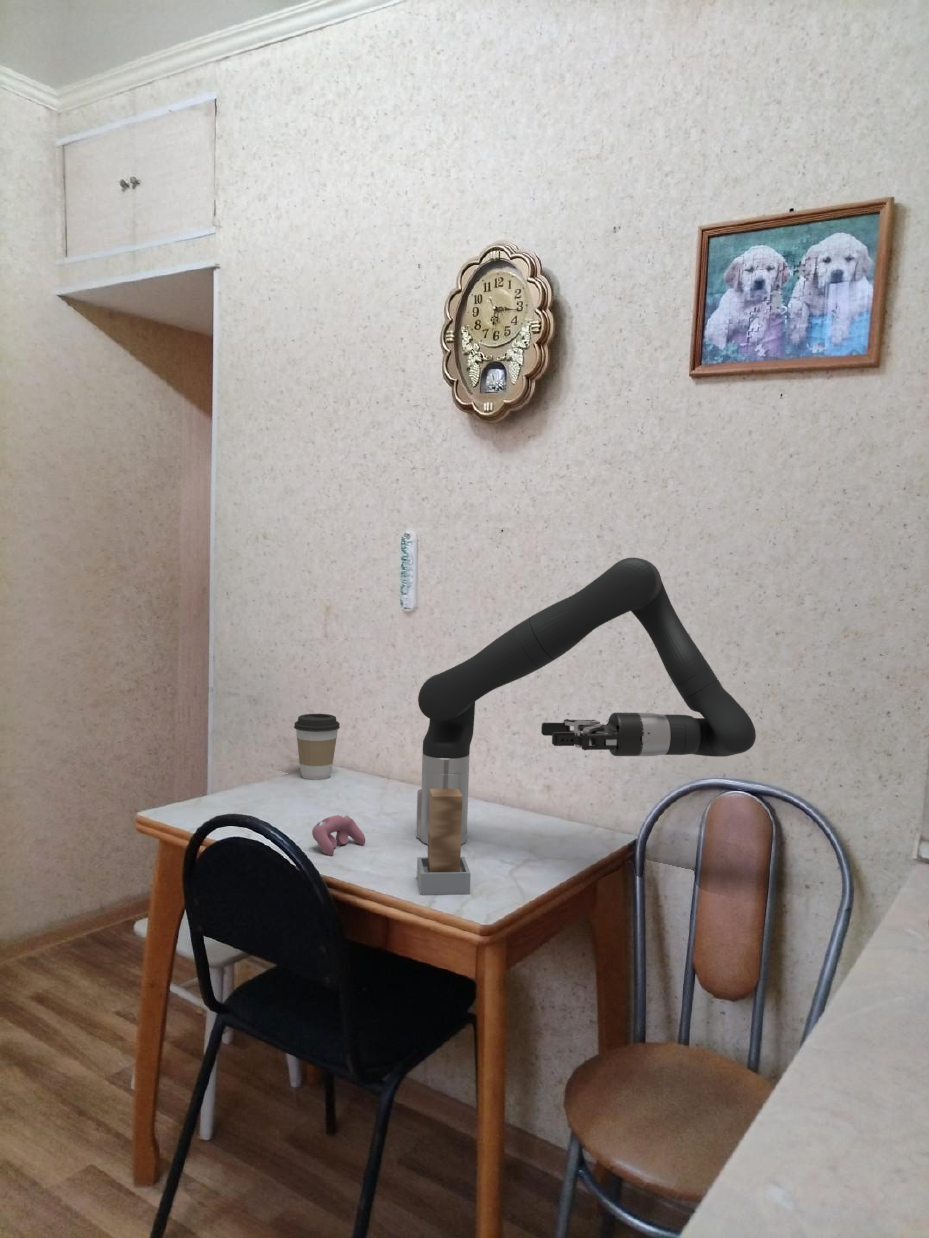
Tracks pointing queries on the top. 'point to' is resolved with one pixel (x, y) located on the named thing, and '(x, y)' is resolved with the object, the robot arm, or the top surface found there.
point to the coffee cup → (316, 744)
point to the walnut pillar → (444, 830)
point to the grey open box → (443, 879)
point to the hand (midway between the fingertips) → (547, 733)
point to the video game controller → (343, 829)
